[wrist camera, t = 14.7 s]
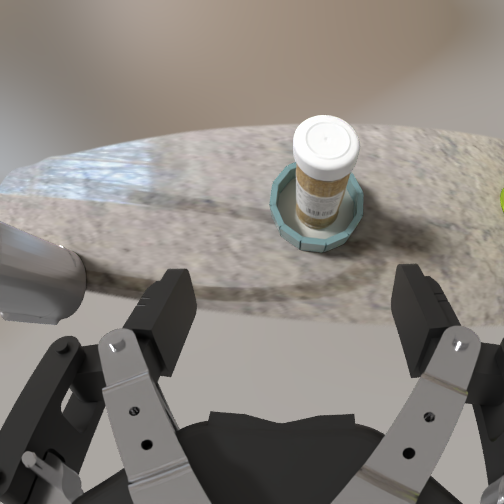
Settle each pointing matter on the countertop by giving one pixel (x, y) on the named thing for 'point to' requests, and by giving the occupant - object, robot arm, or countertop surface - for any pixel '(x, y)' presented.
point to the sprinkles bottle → (323, 168)
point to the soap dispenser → (502, 199)
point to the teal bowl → (305, 236)
